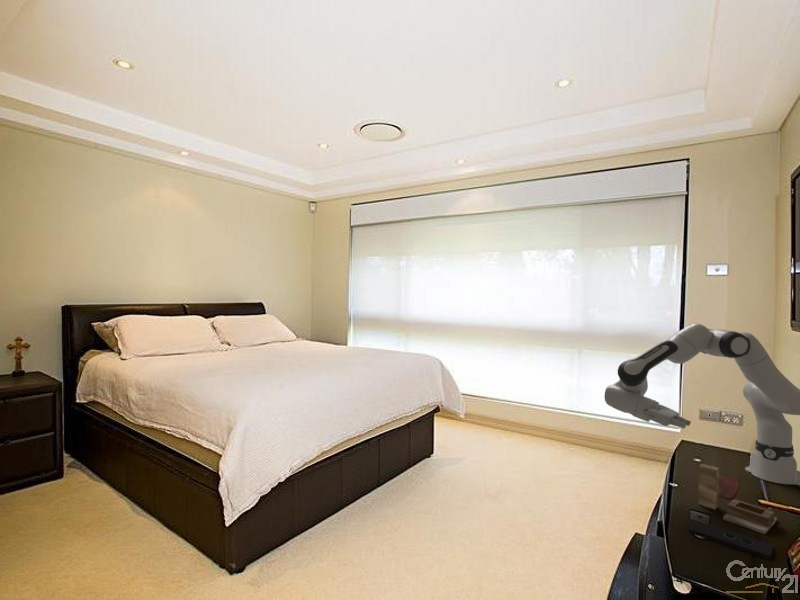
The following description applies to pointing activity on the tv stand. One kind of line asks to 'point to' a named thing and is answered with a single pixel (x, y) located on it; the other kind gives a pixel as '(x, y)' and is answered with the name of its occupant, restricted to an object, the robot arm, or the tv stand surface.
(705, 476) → the oak plank
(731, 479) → the reddish wooden board
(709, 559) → the tv stand surface
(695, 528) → the smart home device
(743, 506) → the wooden plank holder
